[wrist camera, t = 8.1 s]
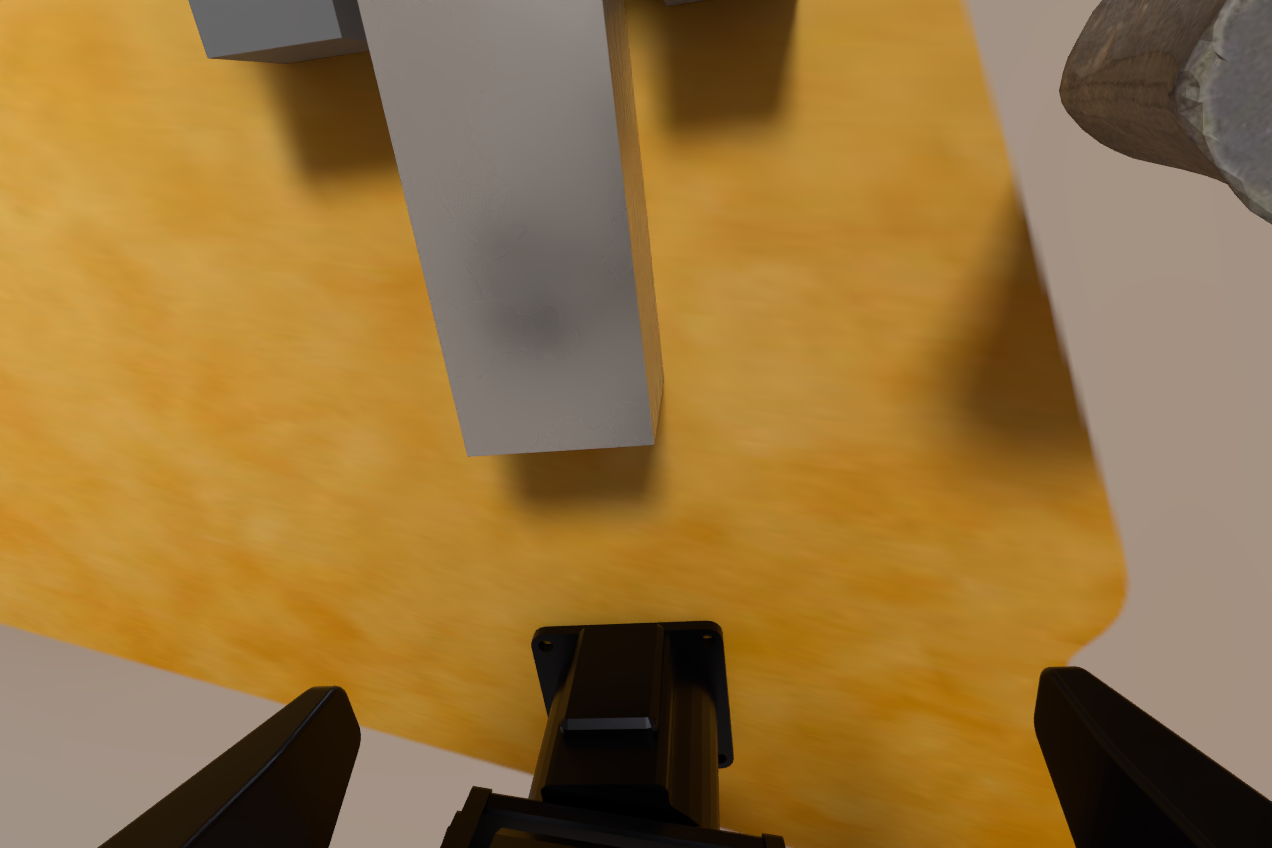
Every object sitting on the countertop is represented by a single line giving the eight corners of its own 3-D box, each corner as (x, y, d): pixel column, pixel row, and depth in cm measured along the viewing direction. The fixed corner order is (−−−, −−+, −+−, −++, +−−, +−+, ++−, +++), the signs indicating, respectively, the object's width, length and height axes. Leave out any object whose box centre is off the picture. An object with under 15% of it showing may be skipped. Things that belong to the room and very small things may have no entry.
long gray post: (664, 374, 20) (654, 444, 16) (514, 385, 21) (467, 456, 17) (610, -138, 15) (576, -222, 11) (415, -104, 16) (315, -172, 12)
